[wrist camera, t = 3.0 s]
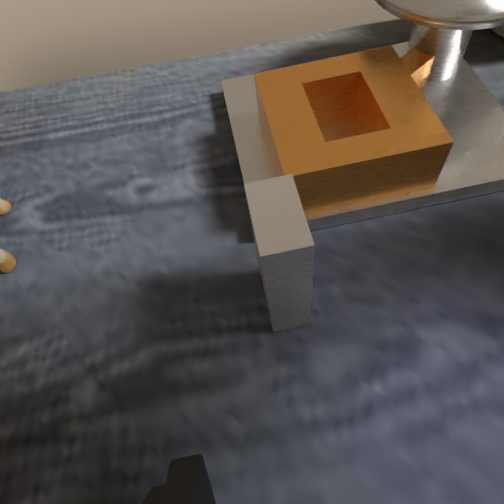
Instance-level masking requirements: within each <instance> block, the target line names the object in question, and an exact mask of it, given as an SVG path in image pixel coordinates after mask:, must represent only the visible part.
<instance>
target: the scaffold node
mask: <svg viewBox="0 0 504 504" xmlns="http://www.w3.org/2000/svg"><path fill="white" fill-rule="evenodd" d="M375 1H376V2H377V3H378V4H379V5H380V6H382V8H383V9H385V10H387V11H388V12H390V13H391V14H393V15H395V16H397V17H399V18H401V19H404V20H406V21H409V22H412V23H413V25H412V29H411V33H410V38H409V41H408V42H403V43H398V44H394V45H389V46H384V47H379V48H374V49H370V50H365V51H360V52H355V53H351V54H346V55H341V56H336V57H331V58H327V59H322V60H317V61H312V62H307V63H303V64H298V65H293V66H288V67H283V68H279V69H274V70H269V71H264V72H260V73H255V74H250V75H245V76H240V77H236V78H231V79H226V80H221V84H222V89H223V94H224V98H225V103H226V107H227V112H228V116H229V121H230V125H231V129H232V134H233V138H234V143H235V147H236V152H237V156H238V160H239V165H240V169H241V174H242V178H243V183H244V184H246V183H251V182H255V181H260V180H265V179H270V178H274V177H279V176H284V175H289V174H292V176H293V179H294V182H295V185H296V188H297V191H298V195H299V198H300V201H301V204H302V207H303V210H304V213H305V217H306V220H307V223H308V226H309V229H310V231H314V230H319V229H323V228H328V227H333V226H337V225H342V224H347V223H352V222H356V221H361V220H366V219H371V218H375V217H380V216H385V215H390V214H394V213H399V212H404V211H409V210H413V209H418V208H423V207H428V206H432V205H437V204H442V203H447V202H451V201H456V200H461V199H466V198H470V197H475V196H480V195H484V194H489V193H494V192H499V191H503V190H504V109H503V108H502V107H501V105H500V104H499V103H498V102H497V100H496V99H495V98H494V96H493V95H492V94H491V93H490V91H489V90H488V89H487V88H486V86H485V85H484V84H483V82H482V81H481V80H480V79H479V77H478V76H477V75H476V74H475V72H474V71H473V70H472V69H471V67H470V66H469V65H468V63H467V62H466V61H465V60H464V58H463V57H464V54H465V51H466V49H467V46H468V43H469V41H470V38H471V35H472V33H473V30H477V29H488V28H494V27H499V26H503V25H504V0H375Z"/></svg>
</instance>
